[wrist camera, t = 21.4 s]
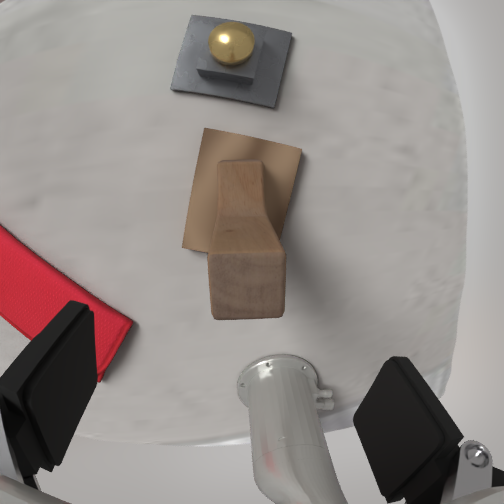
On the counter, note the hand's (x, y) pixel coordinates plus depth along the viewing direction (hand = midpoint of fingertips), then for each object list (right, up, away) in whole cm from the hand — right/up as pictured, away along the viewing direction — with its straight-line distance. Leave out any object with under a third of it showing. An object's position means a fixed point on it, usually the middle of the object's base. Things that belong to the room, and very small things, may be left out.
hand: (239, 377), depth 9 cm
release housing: (-2, +26, +21) cm, 34 cm away
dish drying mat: (-37, -1, +29) cm, 47 cm away
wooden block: (-1, +10, +25) cm, 27 cm away
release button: (-2, +24, +17) cm, 30 cm away
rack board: (-1, +10, +27) cm, 29 cm away
